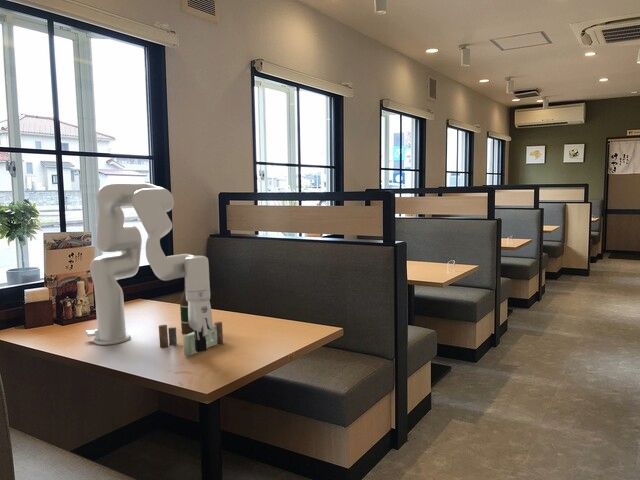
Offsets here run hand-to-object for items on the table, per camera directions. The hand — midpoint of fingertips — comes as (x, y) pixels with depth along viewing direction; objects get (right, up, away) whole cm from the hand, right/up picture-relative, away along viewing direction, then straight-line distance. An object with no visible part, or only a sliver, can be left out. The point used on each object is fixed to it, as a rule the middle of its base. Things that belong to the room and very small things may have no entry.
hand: (201, 350), depth 161 cm
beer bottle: (-11, 0, +32) cm, 34 cm away
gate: (-2, -1, +8) cm, 8 cm away
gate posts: (-7, -1, +16) cm, 17 cm away
